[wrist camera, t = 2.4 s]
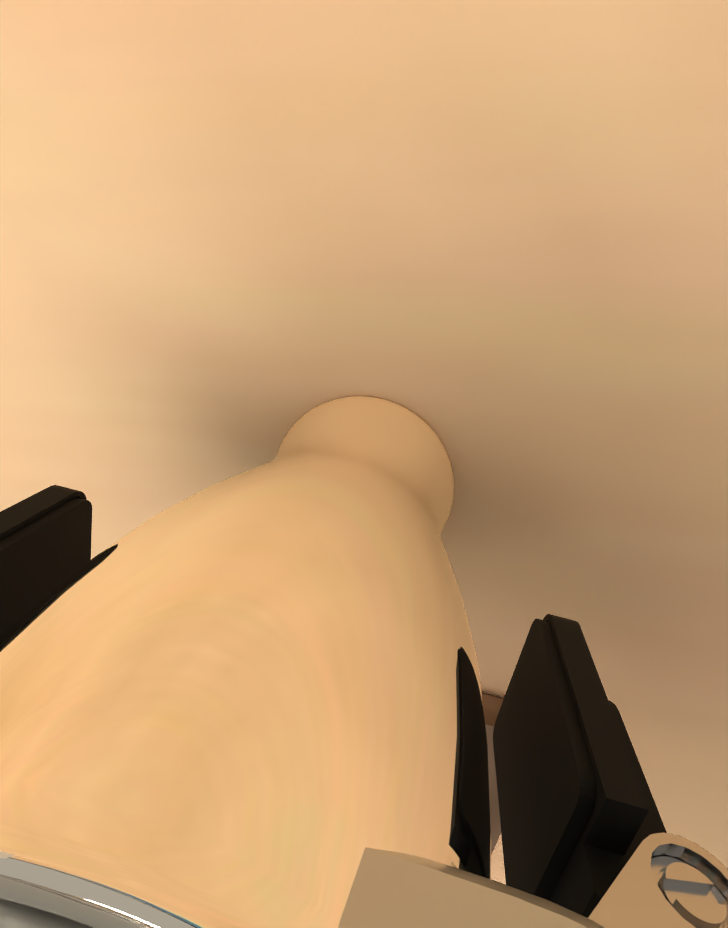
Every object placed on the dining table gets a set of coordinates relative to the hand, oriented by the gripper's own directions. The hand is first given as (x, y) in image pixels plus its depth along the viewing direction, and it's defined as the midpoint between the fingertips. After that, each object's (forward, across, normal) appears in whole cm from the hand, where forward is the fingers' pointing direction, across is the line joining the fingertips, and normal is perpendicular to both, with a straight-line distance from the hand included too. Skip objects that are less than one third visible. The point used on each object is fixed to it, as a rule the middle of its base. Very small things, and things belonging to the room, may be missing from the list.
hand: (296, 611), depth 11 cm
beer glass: (+8, 0, 0) cm, 8 cm away
